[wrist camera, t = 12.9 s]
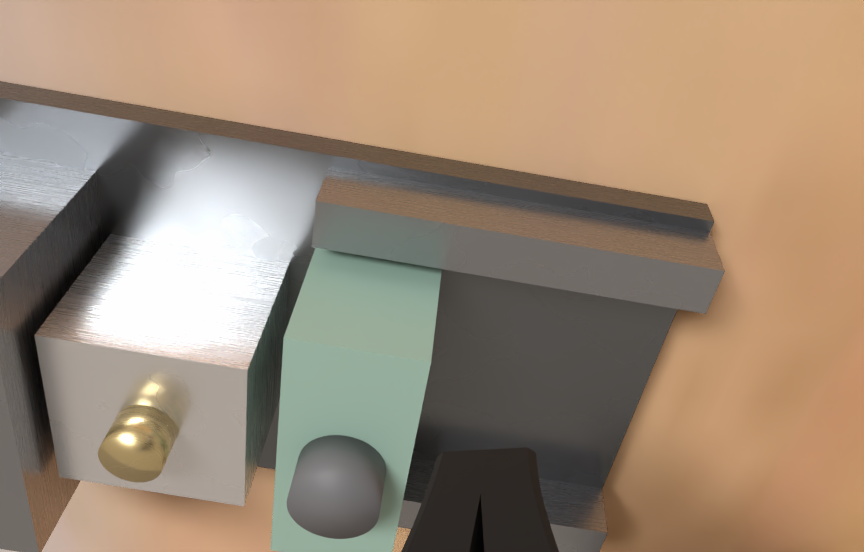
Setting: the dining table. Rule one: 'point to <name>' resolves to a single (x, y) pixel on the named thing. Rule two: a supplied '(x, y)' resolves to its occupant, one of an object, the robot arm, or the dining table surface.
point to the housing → (165, 368)
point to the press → (368, 236)
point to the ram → (351, 401)
